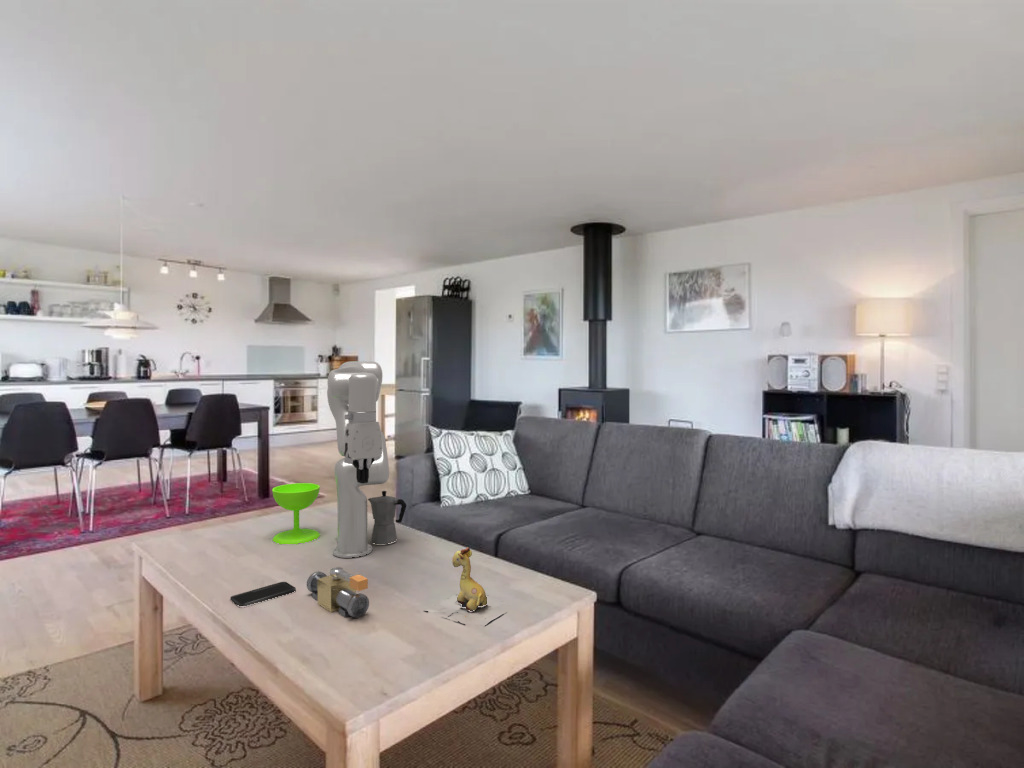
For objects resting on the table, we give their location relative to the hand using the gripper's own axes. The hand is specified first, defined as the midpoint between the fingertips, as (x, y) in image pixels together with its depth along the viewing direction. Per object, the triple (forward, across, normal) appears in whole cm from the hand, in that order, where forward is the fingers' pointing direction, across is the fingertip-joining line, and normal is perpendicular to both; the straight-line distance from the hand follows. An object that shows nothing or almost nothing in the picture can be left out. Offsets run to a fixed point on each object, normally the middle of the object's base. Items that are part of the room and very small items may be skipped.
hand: (362, 482), depth 158 cm
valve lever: (+22, -12, -12) cm, 28 cm away
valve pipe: (+29, -12, -7) cm, 32 cm away
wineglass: (+29, +6, +54) cm, 62 cm away
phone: (+30, -23, +12) cm, 39 cm away
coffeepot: (+29, +26, +27) cm, 48 cm away
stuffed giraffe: (+30, +11, -34) cm, 46 cm away
